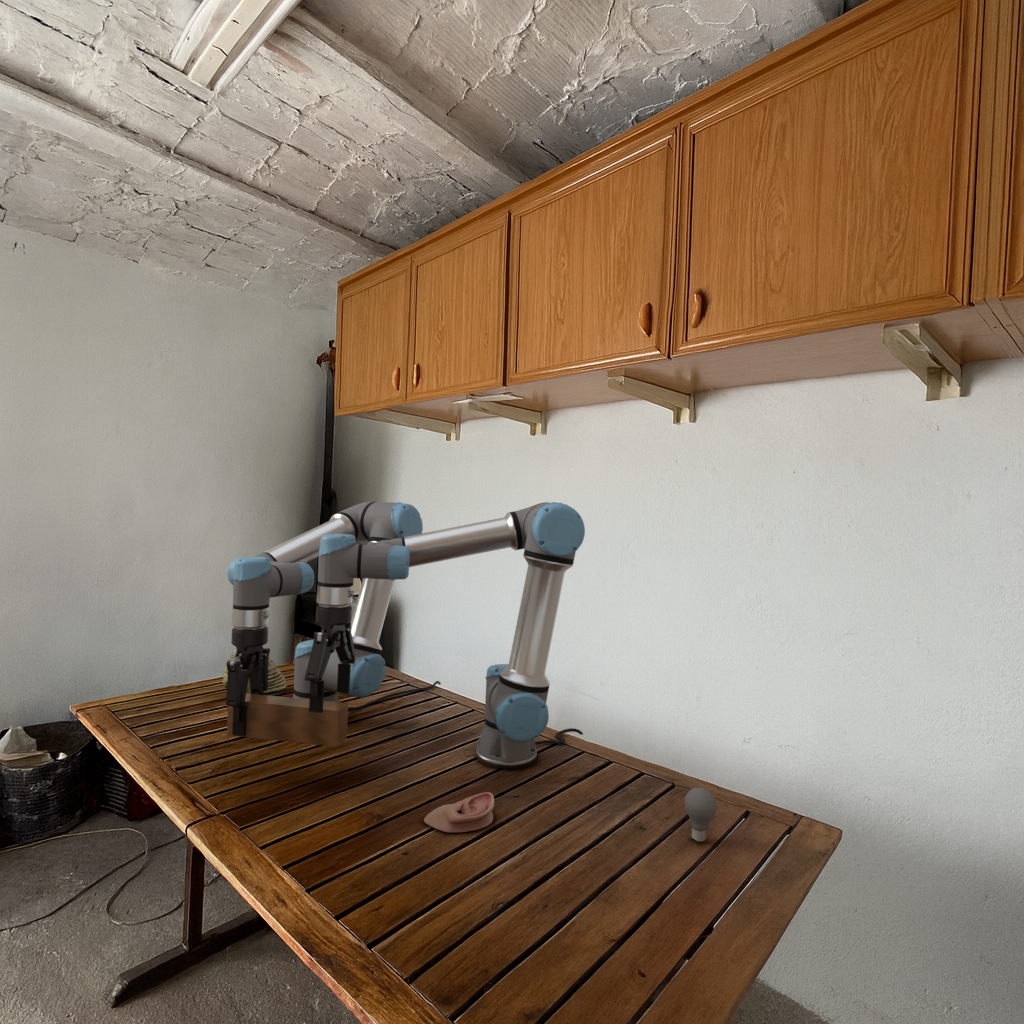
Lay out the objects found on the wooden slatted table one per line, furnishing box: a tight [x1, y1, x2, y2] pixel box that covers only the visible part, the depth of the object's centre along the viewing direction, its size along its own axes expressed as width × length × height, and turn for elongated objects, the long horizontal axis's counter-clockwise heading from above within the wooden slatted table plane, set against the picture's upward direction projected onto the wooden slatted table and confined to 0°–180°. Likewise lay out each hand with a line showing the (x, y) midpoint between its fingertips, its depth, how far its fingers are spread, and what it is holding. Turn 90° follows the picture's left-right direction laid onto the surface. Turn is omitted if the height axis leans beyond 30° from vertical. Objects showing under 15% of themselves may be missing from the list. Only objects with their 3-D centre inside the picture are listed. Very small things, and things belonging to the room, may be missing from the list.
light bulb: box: [683, 787, 718, 842], centre depth 123 cm, size 6×6×10 cm
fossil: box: [222, 649, 288, 696], centre depth 198 cm, size 9×18×15 cm, turn 132°
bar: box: [226, 693, 349, 748], centre depth 140 cm, size 26×5×8 cm, turn 81°
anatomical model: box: [423, 791, 495, 834], centre depth 127 cm, size 13×4×12 cm
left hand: (246, 729), depth 141 cm, fingers closed on bar, 5 cm apart
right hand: (330, 701), depth 138 cm, fingers open, 13 cm apart
